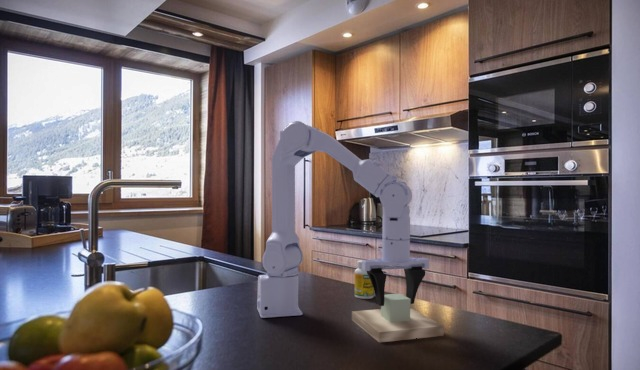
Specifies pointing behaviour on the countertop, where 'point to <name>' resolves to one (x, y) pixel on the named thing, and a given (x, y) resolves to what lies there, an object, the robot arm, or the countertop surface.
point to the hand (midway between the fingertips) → (395, 303)
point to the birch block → (396, 326)
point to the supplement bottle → (363, 283)
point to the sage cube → (396, 308)
